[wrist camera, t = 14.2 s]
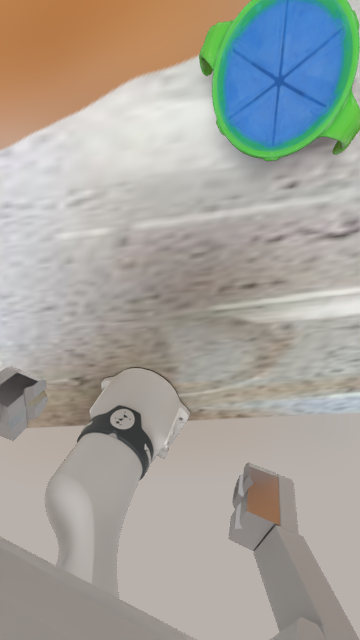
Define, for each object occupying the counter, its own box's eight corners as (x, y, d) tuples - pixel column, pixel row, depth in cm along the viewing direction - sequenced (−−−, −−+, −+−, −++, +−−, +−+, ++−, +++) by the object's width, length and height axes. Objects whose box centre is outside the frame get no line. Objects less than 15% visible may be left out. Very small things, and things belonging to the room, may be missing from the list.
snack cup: (192, 115, 31) (162, 87, 23) (253, 0, 26) (246, -94, 17) (295, 199, 32) (305, 203, 23) (375, 104, 27) (428, 63, 18)
